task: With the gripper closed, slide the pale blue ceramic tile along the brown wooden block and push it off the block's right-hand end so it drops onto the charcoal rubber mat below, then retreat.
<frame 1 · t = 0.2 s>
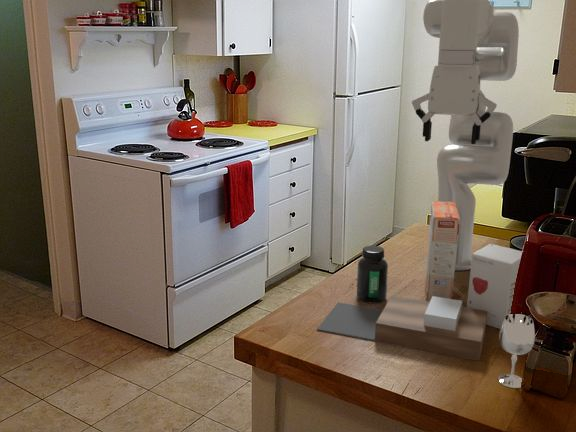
hand: (450, 141, 131), 36 cm above the counter, tool pointing down, fingers open, 9 cm apart
tile: (442, 318, 122), point 4 cm above the counter, touching brown wooden block
mat: (354, 320, 130), on the counter
supplement bottle: (371, 298, 142), on the counter
supplement box: (493, 318, 132), on the counter
wineglass: (511, 382, 108), on the counter
cracker box: (438, 294, 144), on the counter
brown wooden block: (431, 334, 124), on the counter
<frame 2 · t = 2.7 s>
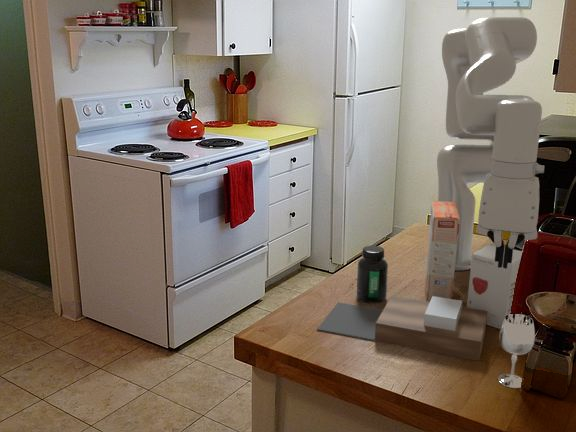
hand: (502, 265, 115), 17 cm above the counter, tool pointing down, fingers closed
nothing on the counter moved.
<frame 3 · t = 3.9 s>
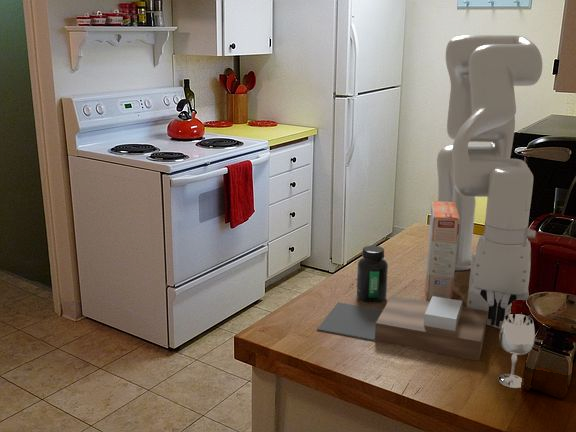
hand: (495, 323, 119), 5 cm above the counter, tool pointing down, fingers closed
nothing on the counter moved.
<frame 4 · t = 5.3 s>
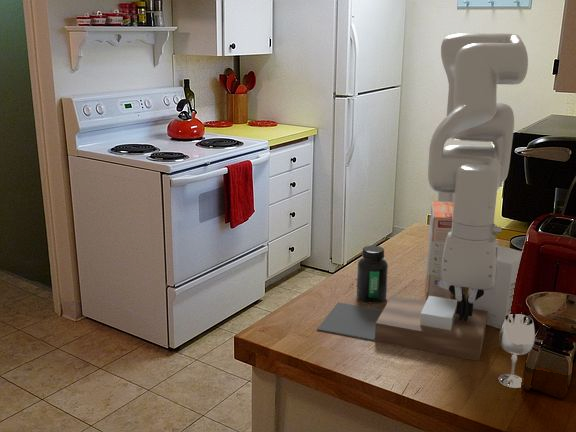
hand: (463, 317, 121), 5 cm above the counter, tool pointing down, fingers closed
tile: (439, 317, 123), point 4 cm above the counter, touching brown wooden block, gripper
everything else where it was.
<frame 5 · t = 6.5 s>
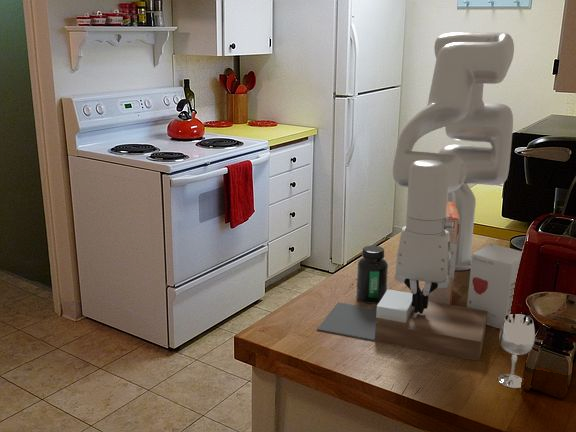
hand: (419, 310, 124), 5 cm above the counter, tool pointing down, fingers closed
tile: (396, 311, 126), point 4 cm above the counter, touching gripper
everything else where it was.
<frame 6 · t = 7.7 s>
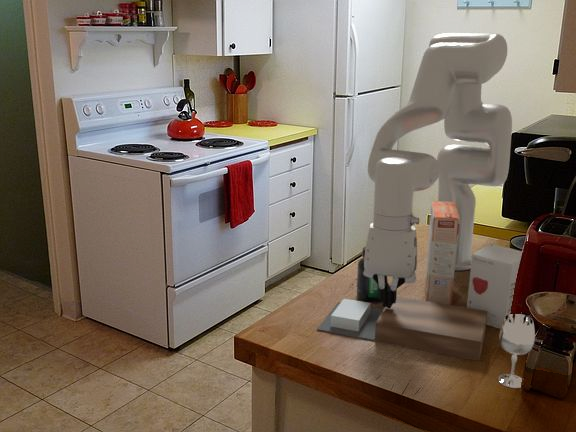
hand: (387, 305, 126), 5 cm above the counter, tool pointing down, fingers closed
tile: (351, 309, 129), point 3 cm above the counter, tilted 180°, touching mat
everything else where it was.
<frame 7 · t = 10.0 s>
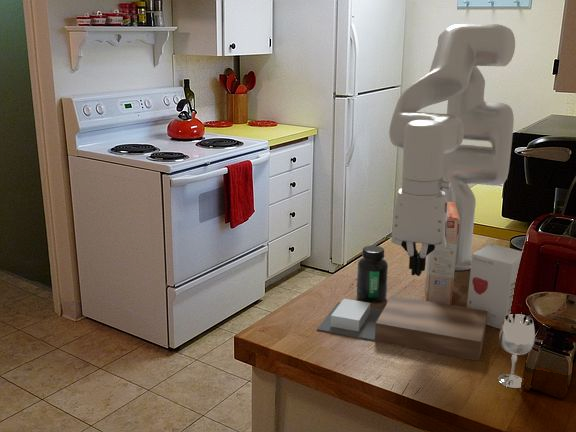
hand: (416, 272, 123), 13 cm above the counter, tool pointing down, fingers closed
nothing on the counter moved.
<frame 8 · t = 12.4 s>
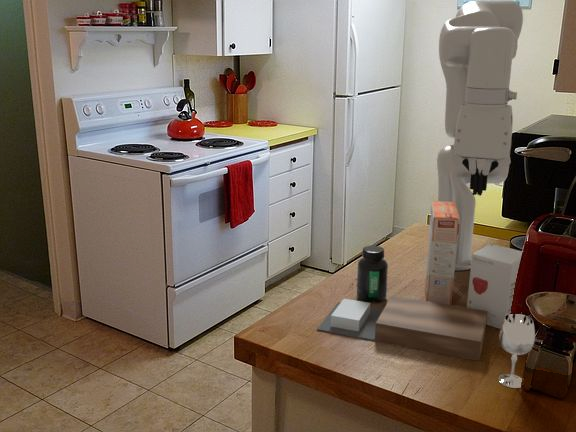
hand: (477, 193, 118), 29 cm above the counter, tool pointing down, fingers closed
nothing on the counter moved.
at the end: tile inside the target area on the mat (0.9 cm from its centre), point 2.8 cm above the mat's base; tile point 2.8 cm above the counter; tile touching mat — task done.
